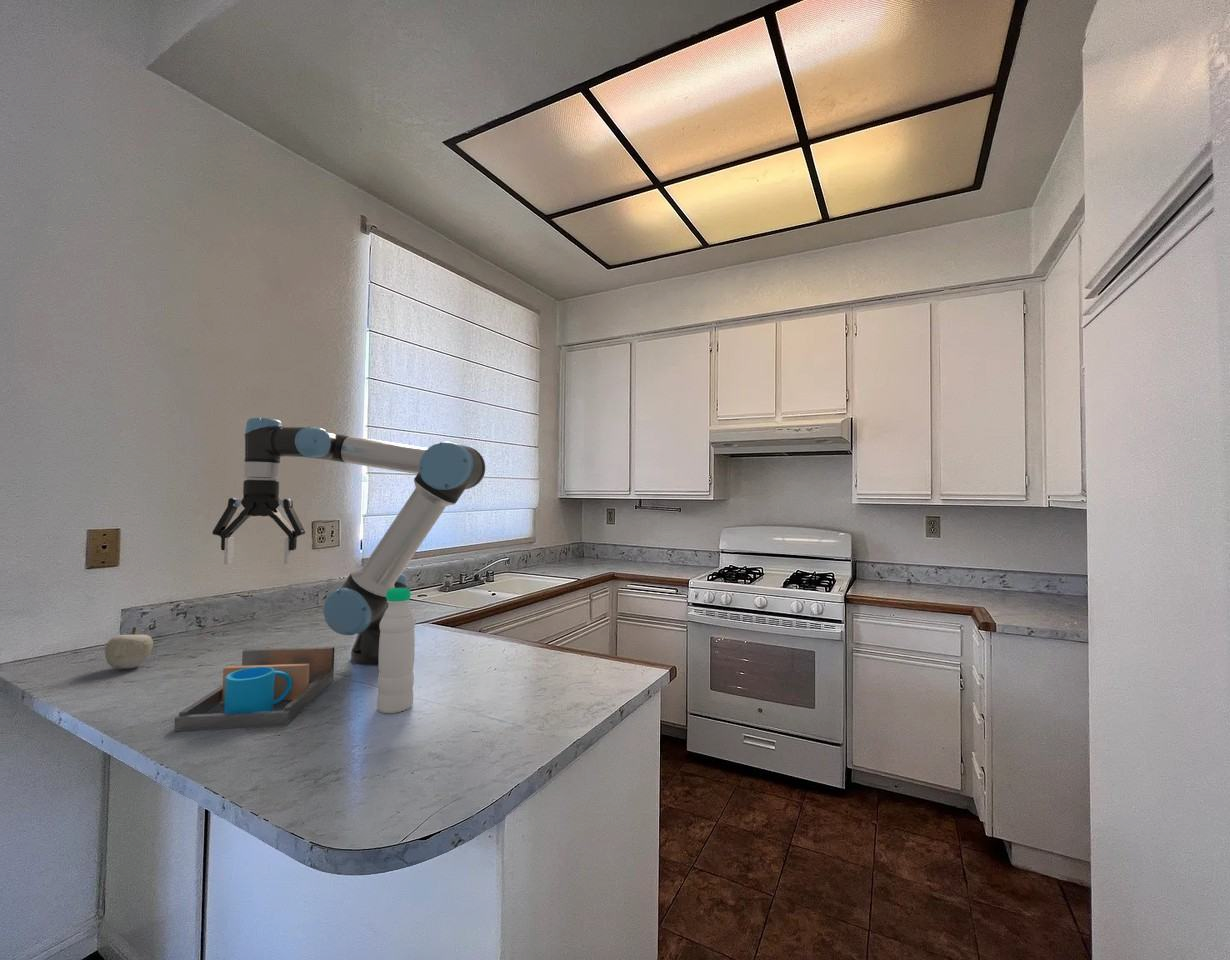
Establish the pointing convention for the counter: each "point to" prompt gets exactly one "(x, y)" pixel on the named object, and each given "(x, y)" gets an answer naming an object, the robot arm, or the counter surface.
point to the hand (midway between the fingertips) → (258, 563)
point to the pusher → (279, 678)
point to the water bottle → (396, 654)
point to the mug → (253, 690)
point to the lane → (200, 720)
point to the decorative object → (128, 650)
